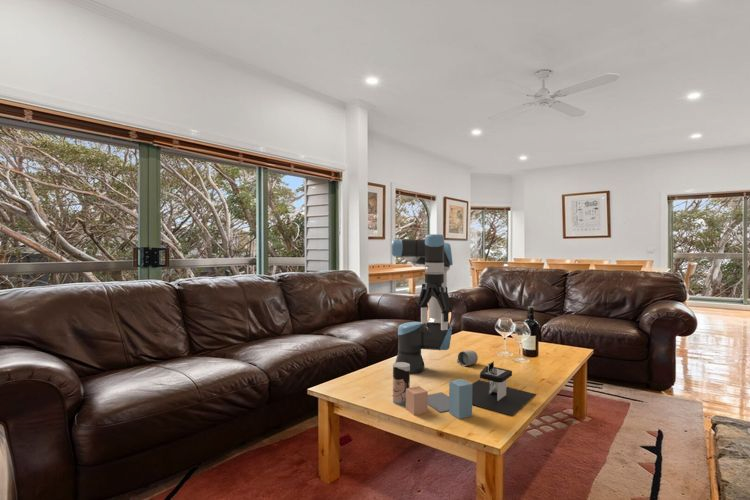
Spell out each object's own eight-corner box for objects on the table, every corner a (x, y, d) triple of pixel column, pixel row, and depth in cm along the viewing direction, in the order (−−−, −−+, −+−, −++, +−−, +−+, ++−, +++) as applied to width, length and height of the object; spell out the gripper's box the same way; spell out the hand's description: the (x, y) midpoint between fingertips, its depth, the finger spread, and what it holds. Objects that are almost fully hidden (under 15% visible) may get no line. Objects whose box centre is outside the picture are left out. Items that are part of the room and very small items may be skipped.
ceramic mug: (478, 365, 210) (478, 350, 210) (468, 368, 205) (468, 353, 205) (463, 360, 219) (463, 346, 219) (452, 363, 214) (452, 348, 214)
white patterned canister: (392, 398, 166) (392, 362, 165) (409, 398, 166) (409, 362, 165) (393, 404, 159) (393, 367, 159) (410, 405, 159) (410, 367, 158)
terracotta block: (405, 409, 155) (405, 388, 155) (419, 406, 158) (419, 386, 157) (413, 415, 150) (413, 394, 149) (427, 412, 152) (427, 391, 152)
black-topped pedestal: (478, 380, 187) (479, 351, 187) (536, 394, 170) (537, 363, 170) (448, 397, 165) (449, 365, 165) (512, 415, 149) (512, 380, 148)
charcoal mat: (417, 397, 166) (417, 396, 166) (441, 393, 171) (441, 392, 171) (440, 412, 152) (440, 411, 152) (465, 407, 157) (465, 406, 157)
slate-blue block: (449, 412, 152) (449, 381, 151) (461, 410, 154) (462, 378, 154) (458, 419, 146) (459, 386, 146) (472, 416, 149) (472, 383, 149)
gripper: (409, 271, 169) (409, 321, 170) (446, 276, 147) (445, 333, 148) (424, 270, 173) (423, 319, 173) (462, 275, 151) (461, 331, 151)
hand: (433, 326), depth 161 cm, fingers open, 13 cm apart
